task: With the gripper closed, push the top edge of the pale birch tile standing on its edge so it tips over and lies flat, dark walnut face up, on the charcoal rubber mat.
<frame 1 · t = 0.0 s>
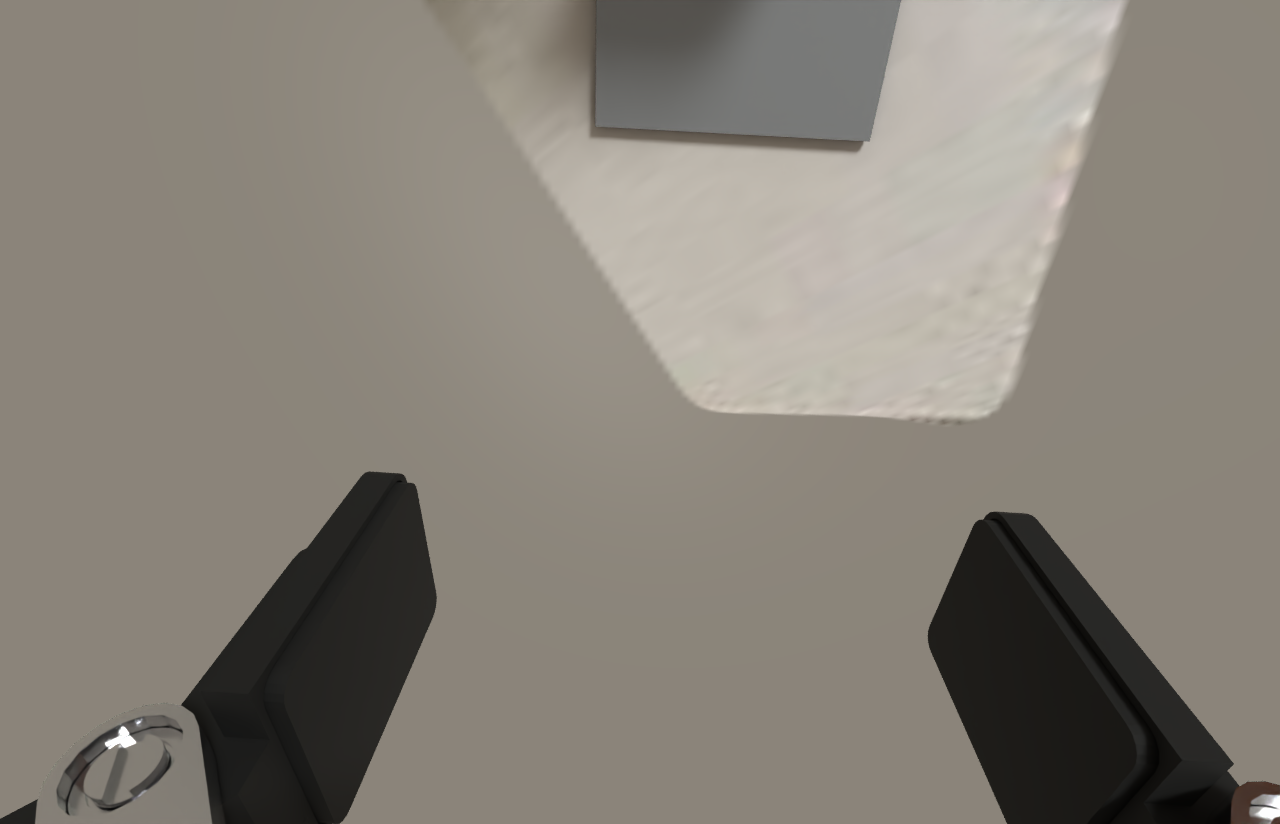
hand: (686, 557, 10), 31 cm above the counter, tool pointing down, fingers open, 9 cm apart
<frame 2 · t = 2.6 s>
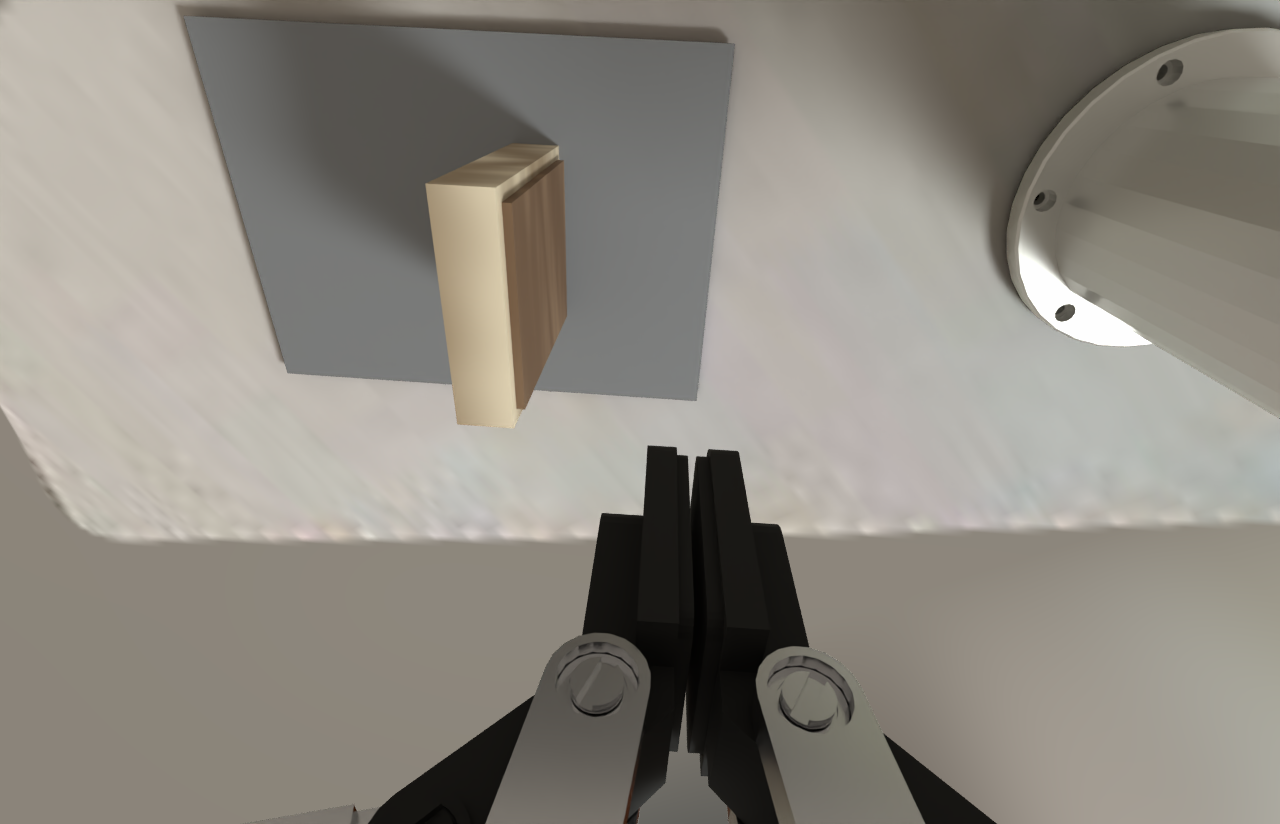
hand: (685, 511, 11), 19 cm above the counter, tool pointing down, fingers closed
birch tile: (539, 238, 27), resting on rubber mat
rubber mat: (477, 232, 28), on the counter
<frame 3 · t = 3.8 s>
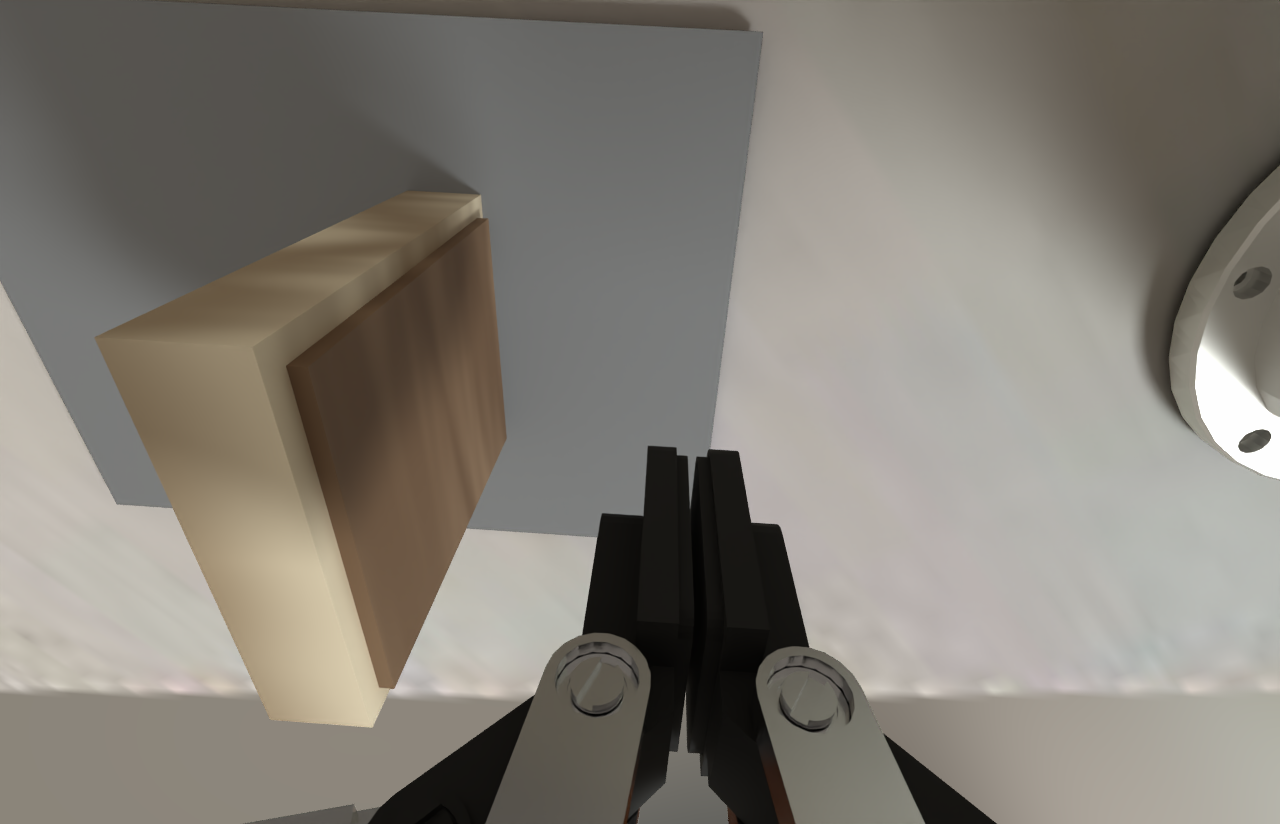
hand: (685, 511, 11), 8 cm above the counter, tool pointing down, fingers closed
birch tile: (460, 330, 18), resting on rubber mat
rubber mat: (368, 319, 18), on the counter
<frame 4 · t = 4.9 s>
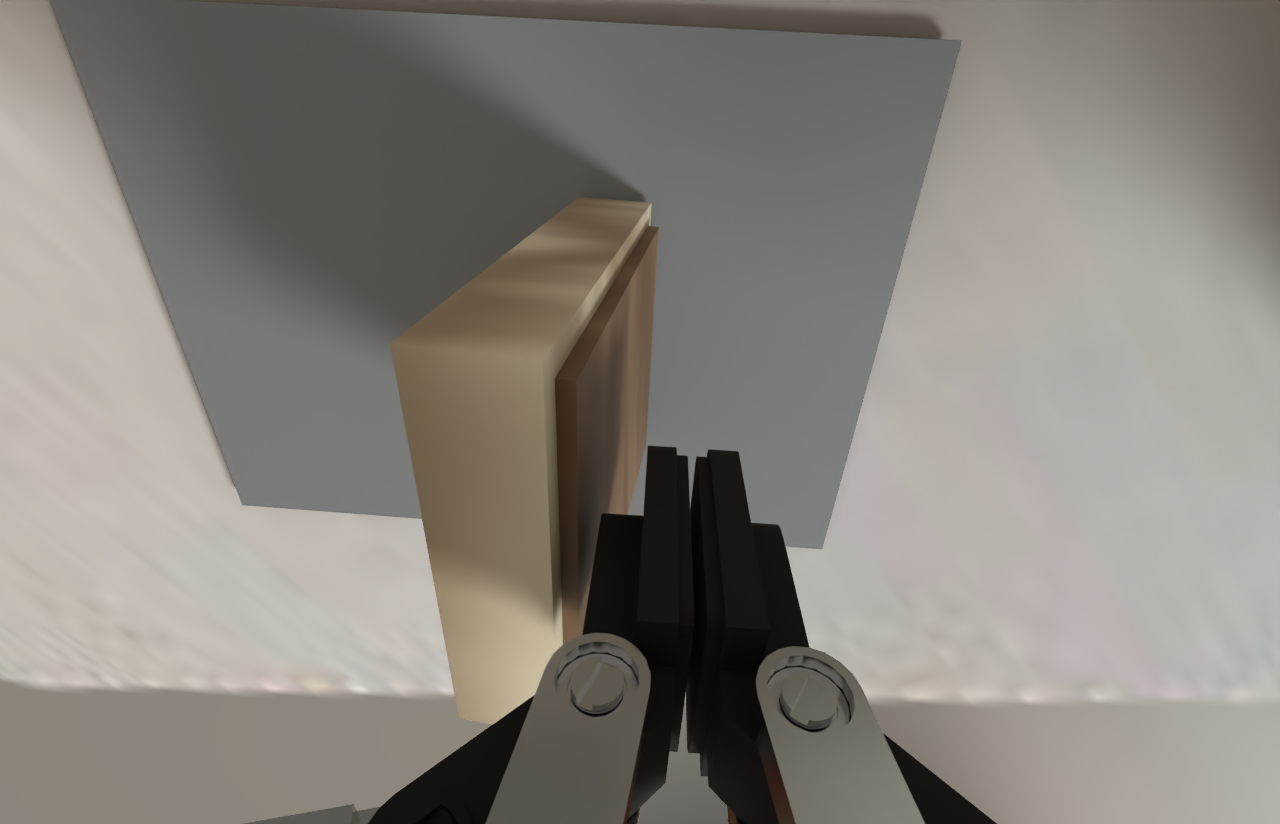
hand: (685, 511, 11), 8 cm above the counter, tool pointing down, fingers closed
birch tile: (611, 336, 18), resting on rubber mat, tilted 5°
rubber mat: (518, 324, 18), on the counter
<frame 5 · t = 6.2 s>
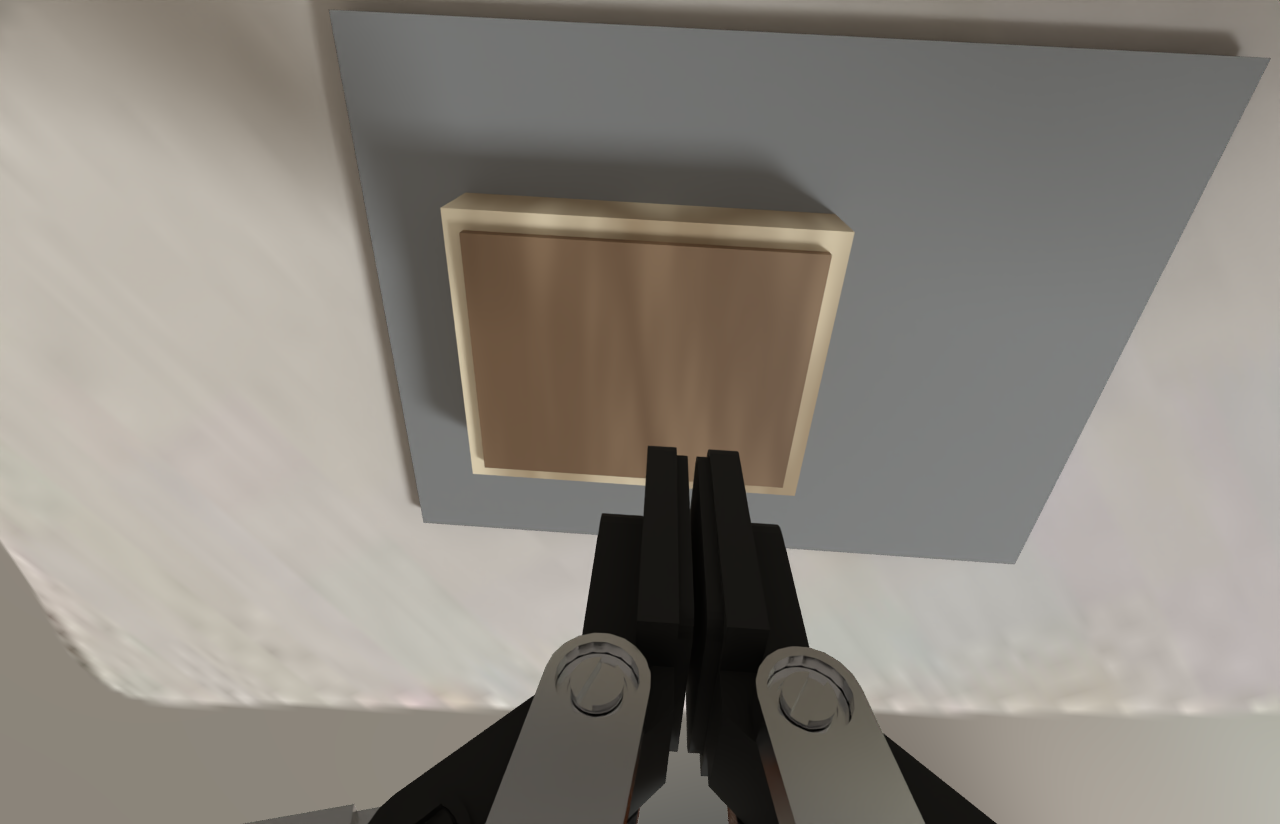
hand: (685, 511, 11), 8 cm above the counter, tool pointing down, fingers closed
birch tile: (813, 364, 17), point 1 cm above the counter, tilted 90°, touching rubber mat
rubber mat: (743, 341, 18), on the counter
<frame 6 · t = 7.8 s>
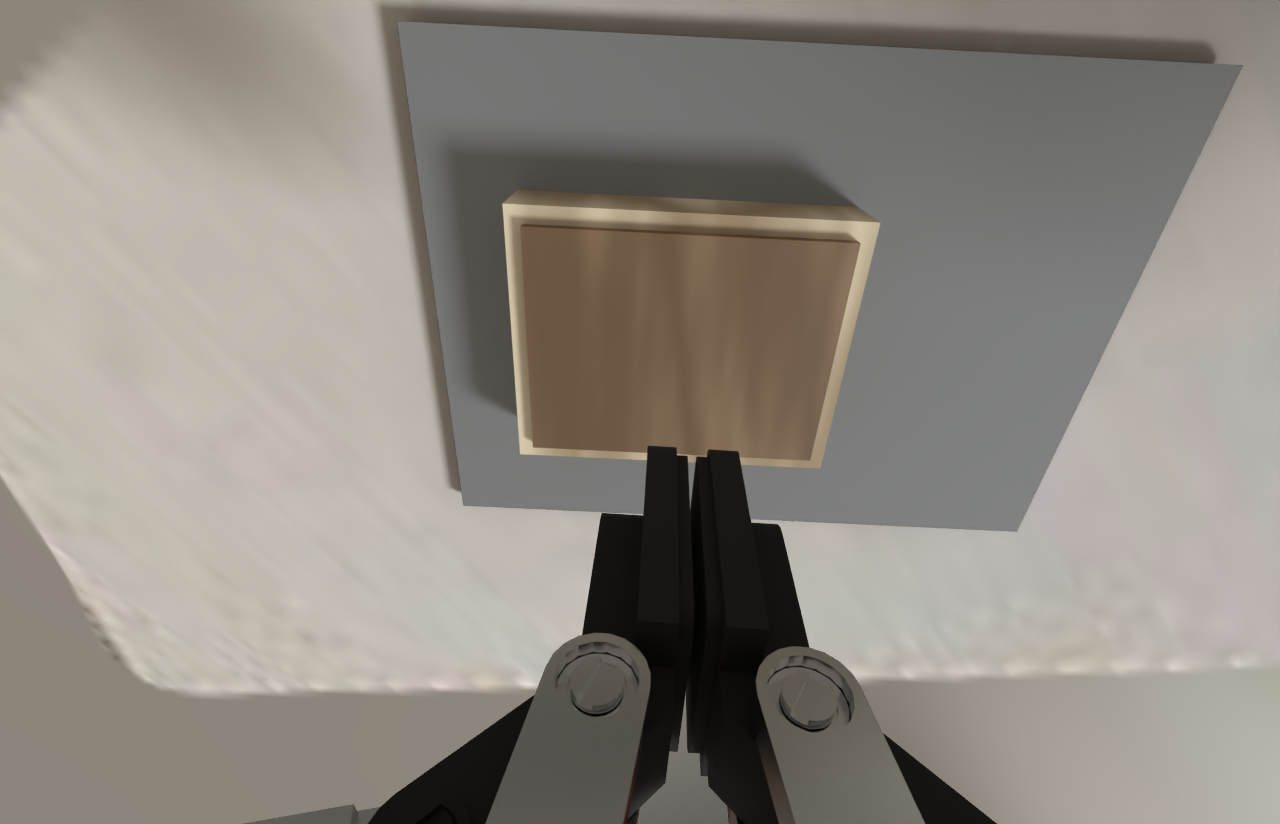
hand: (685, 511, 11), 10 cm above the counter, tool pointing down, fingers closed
birch tile: (837, 346, 18), point 1 cm above the counter, tilted 90°, touching rubber mat
rubber mat: (770, 326, 20), on the counter
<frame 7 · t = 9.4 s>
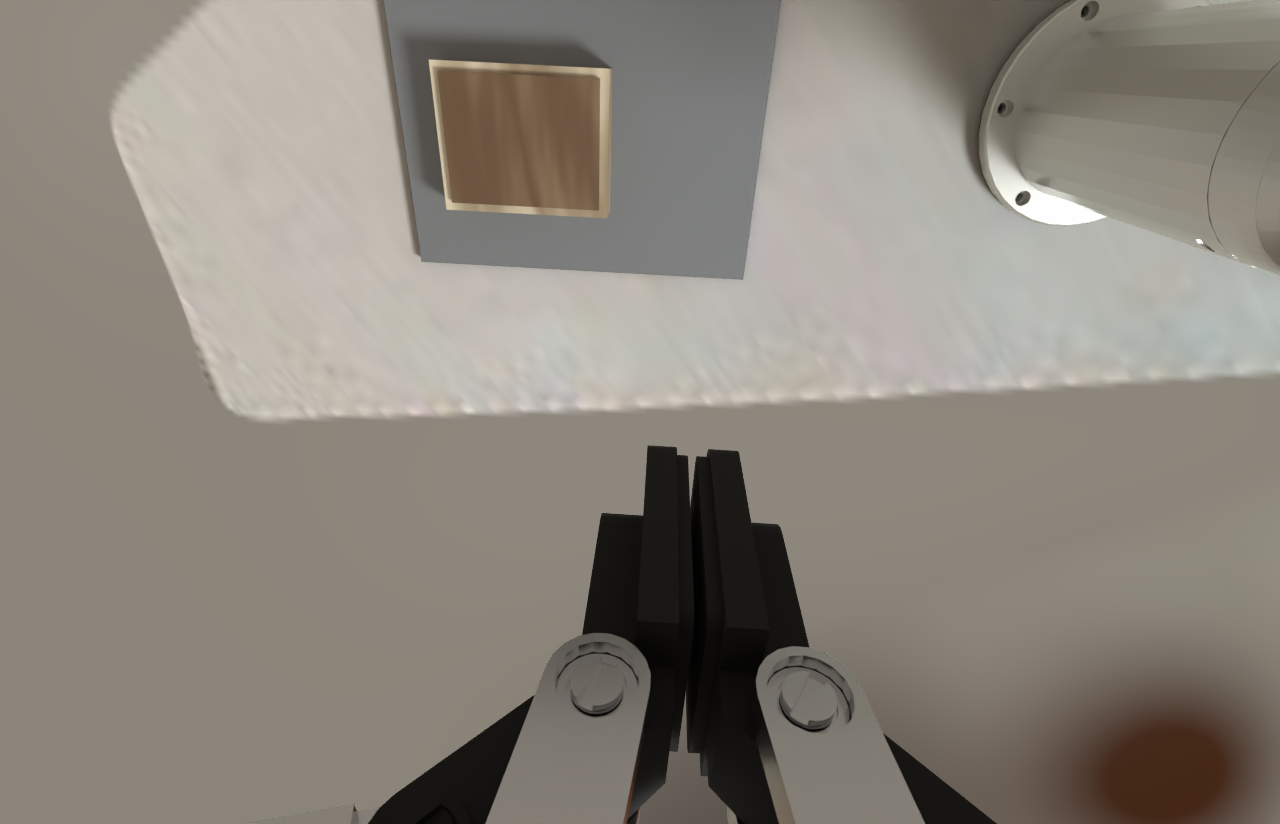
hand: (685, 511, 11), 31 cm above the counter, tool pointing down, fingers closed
birch tile: (609, 145, 35), point 1 cm above the counter, tilted 90°, touching rubber mat
rubber mat: (581, 141, 36), on the counter
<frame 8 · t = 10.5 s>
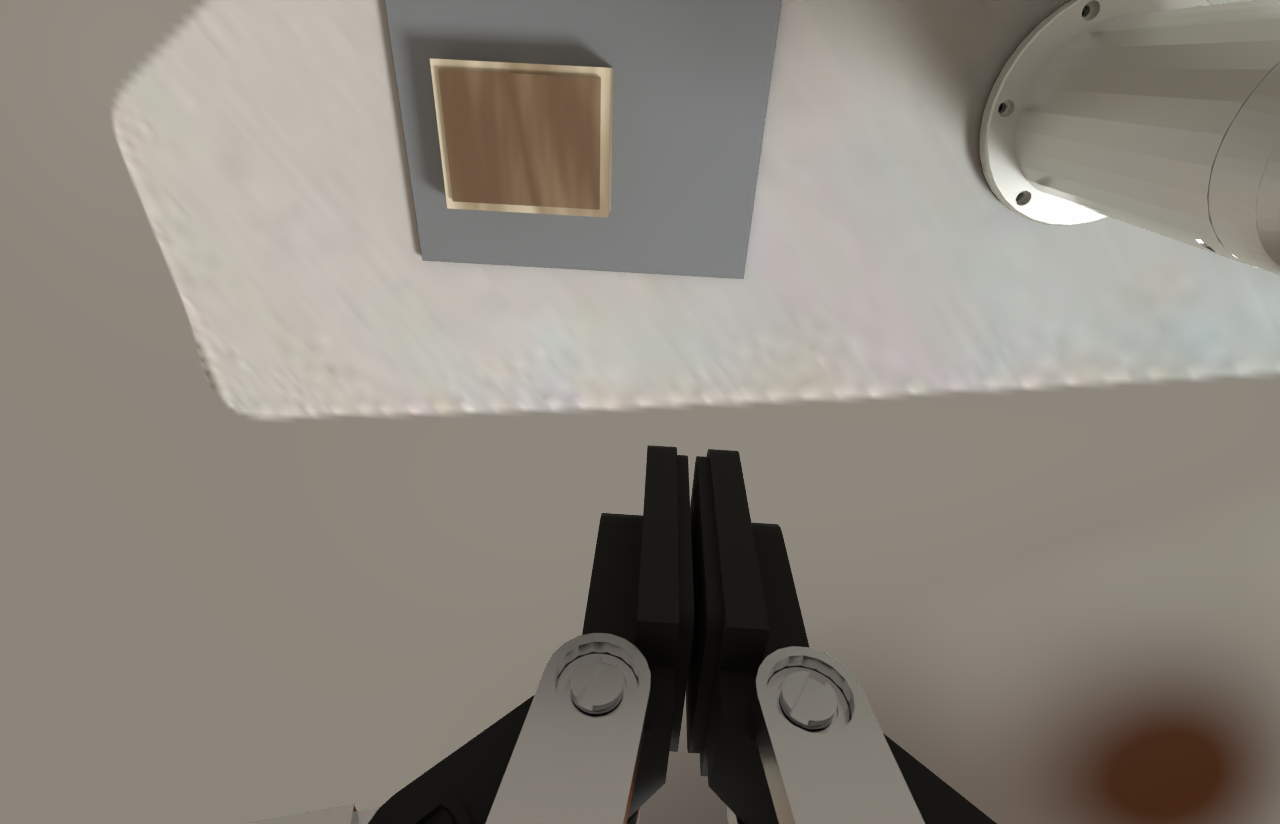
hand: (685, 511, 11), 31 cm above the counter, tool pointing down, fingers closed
birch tile: (610, 145, 35), point 1 cm above the counter, tilted 90°, touching rubber mat
rubber mat: (582, 140, 37), on the counter
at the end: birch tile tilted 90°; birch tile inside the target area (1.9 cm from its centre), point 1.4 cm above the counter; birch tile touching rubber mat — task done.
